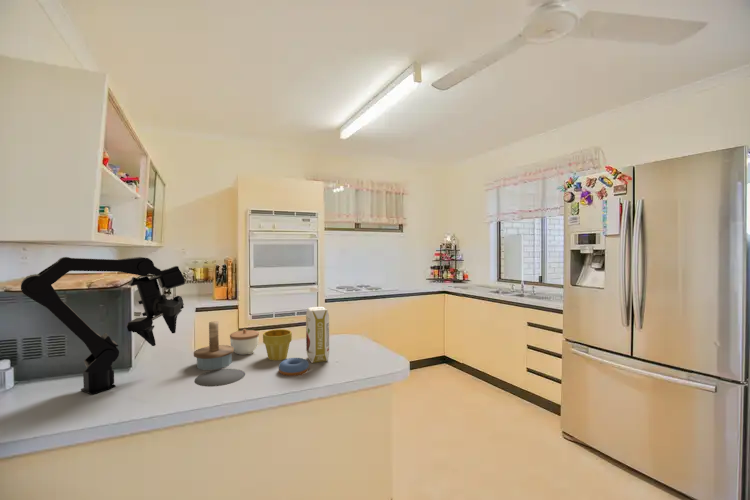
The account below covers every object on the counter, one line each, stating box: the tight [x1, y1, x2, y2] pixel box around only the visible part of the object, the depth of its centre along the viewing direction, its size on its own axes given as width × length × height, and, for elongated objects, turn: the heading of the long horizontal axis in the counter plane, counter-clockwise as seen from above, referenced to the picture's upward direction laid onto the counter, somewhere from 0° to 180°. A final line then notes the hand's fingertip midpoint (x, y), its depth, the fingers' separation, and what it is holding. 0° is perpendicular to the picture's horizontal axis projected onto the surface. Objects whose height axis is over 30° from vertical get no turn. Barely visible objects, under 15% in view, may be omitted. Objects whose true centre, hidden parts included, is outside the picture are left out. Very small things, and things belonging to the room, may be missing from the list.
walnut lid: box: [193, 321, 235, 359], centre depth 129 cm, size 13×13×11 cm
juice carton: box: [305, 306, 330, 364], centre depth 136 cm, size 8×9×19 cm
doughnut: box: [278, 357, 310, 377], centre depth 123 cm, size 10×10×5 cm
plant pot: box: [262, 328, 293, 361], centre depth 137 cm, size 10×10×10 cm
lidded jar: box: [229, 328, 260, 355], centre depth 144 cm, size 11×11×9 cm
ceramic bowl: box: [196, 353, 233, 371], centre depth 130 cm, size 11×11×4 cm
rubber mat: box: [194, 368, 246, 388], centre depth 118 cm, size 15×15×1 cm
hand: (164, 339), depth 121 cm, fingers open, 9 cm apart
